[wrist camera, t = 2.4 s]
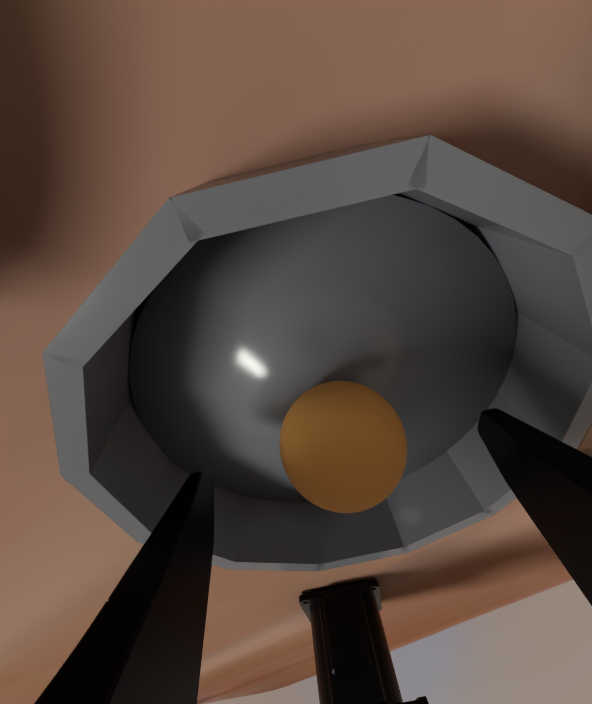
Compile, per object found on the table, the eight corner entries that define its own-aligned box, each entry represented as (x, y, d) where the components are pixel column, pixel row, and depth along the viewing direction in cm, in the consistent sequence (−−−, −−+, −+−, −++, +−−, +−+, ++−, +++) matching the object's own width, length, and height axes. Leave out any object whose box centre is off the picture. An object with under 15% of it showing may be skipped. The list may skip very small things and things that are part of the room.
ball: (382, 423, 12) (427, 523, 9) (288, 443, 12) (299, 550, 9) (378, 345, 10) (438, 439, 7) (264, 371, 10) (266, 476, 7)
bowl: (484, 463, 16) (532, 527, 13) (209, 521, 16) (198, 595, 13) (592, 89, 7) (804, 45, 4) (-9, 234, 7) (-166, 277, 5)
